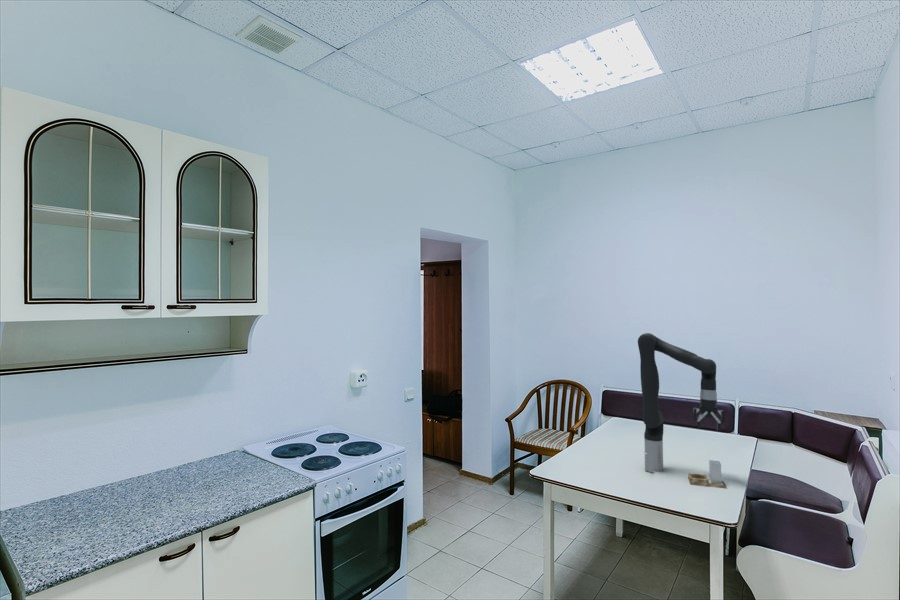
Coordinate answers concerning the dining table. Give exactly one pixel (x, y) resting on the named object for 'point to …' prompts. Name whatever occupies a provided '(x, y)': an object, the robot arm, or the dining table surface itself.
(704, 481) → the brown compartment tray
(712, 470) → the block
